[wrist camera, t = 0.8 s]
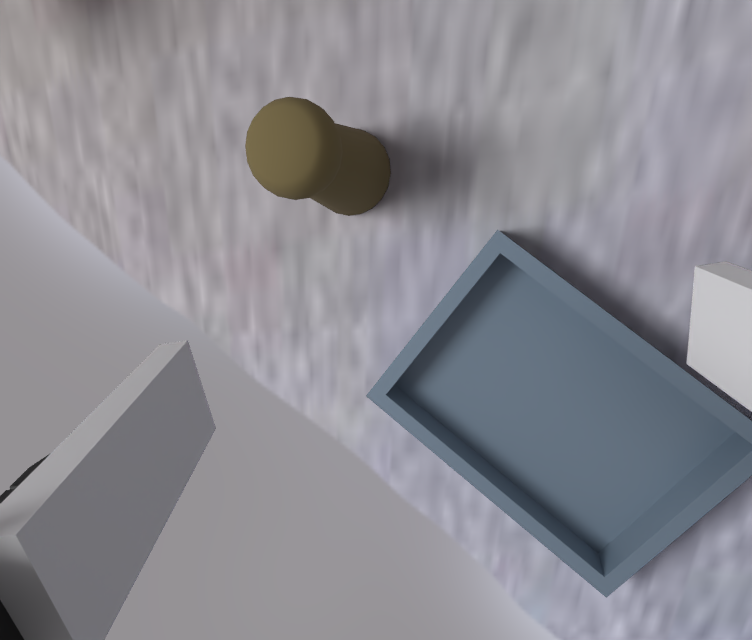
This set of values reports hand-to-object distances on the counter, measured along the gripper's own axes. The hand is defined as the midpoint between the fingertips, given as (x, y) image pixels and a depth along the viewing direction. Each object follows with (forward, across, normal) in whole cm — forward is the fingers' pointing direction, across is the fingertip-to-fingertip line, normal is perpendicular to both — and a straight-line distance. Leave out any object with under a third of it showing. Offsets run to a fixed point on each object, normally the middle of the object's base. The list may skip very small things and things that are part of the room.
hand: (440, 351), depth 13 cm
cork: (+25, +3, -3) cm, 25 cm away
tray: (+18, -8, +13) cm, 24 cm away
